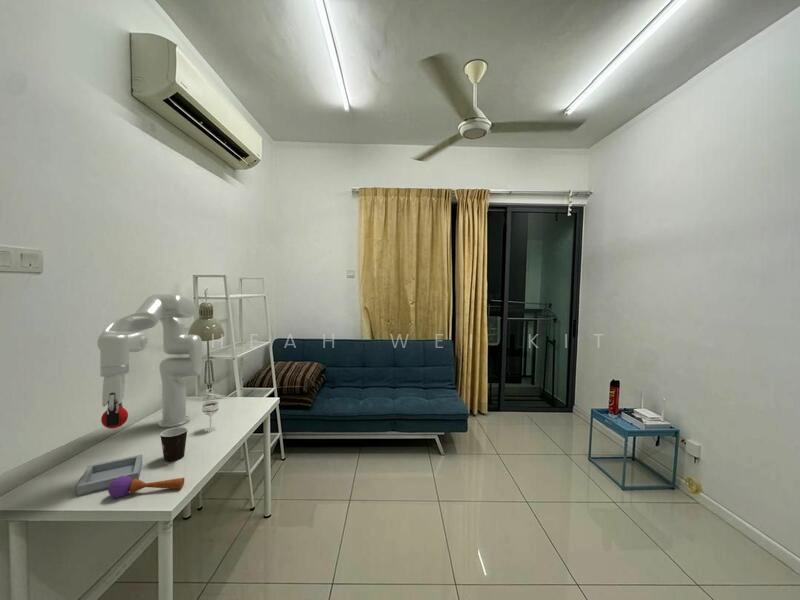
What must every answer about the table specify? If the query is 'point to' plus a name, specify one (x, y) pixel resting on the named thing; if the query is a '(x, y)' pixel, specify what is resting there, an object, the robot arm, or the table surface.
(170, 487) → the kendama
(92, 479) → the tray
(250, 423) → the table surface
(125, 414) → the christmas ornament
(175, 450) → the coffee mug
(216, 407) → the wineglass
